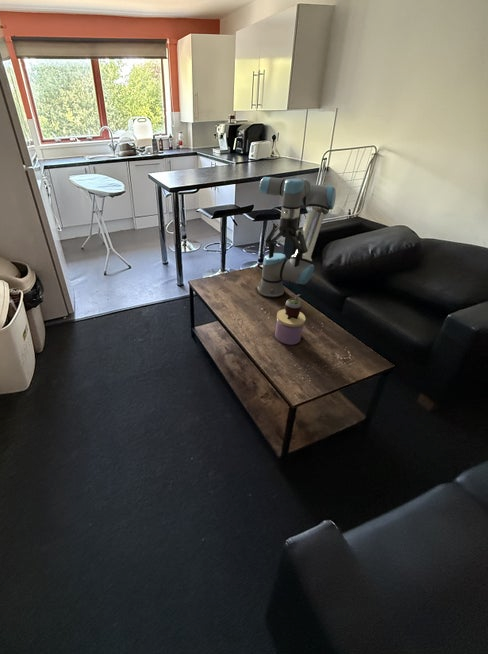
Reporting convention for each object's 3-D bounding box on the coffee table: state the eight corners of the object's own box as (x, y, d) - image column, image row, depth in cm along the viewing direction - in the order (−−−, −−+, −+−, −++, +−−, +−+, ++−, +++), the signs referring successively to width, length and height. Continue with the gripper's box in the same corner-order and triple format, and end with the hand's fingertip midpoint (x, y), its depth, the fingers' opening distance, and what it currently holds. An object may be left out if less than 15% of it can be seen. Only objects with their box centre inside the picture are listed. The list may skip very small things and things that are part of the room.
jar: (283, 325, 159) (286, 305, 153) (306, 336, 151) (310, 316, 145) (269, 336, 151) (271, 316, 146) (292, 348, 143) (296, 328, 138)
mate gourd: (288, 310, 150) (293, 282, 142) (304, 316, 145) (309, 288, 137) (280, 316, 145) (284, 288, 138) (295, 323, 140) (300, 294, 133)
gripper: (260, 213, 142) (256, 256, 153) (312, 225, 126) (304, 272, 137) (270, 209, 147) (265, 251, 157) (321, 220, 131) (312, 267, 141)
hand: (283, 261), depth 147 cm, fingers open, 13 cm apart
